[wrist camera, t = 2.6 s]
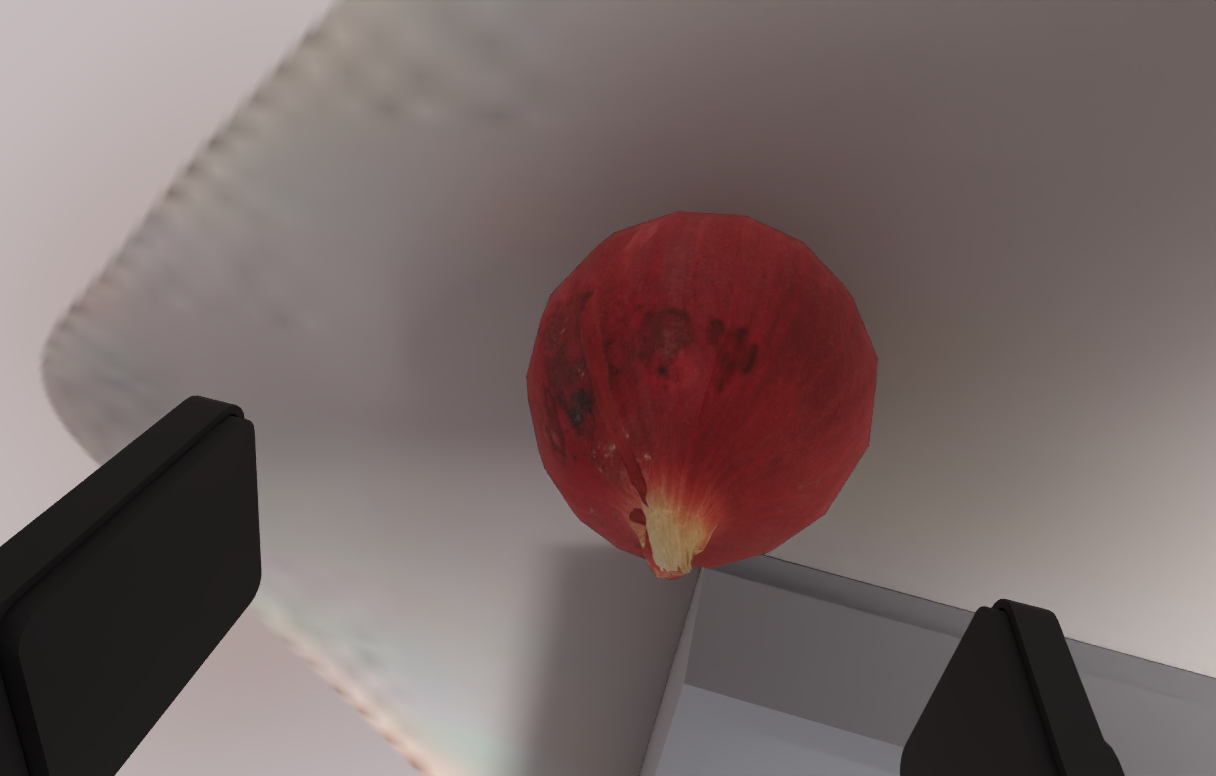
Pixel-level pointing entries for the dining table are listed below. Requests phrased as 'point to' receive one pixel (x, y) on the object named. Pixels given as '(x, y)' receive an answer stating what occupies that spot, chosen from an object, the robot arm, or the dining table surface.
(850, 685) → the tray
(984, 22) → the dining table surface
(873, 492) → the dining table surface
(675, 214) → the onion
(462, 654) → the dining table surface
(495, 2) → the dining table surface
